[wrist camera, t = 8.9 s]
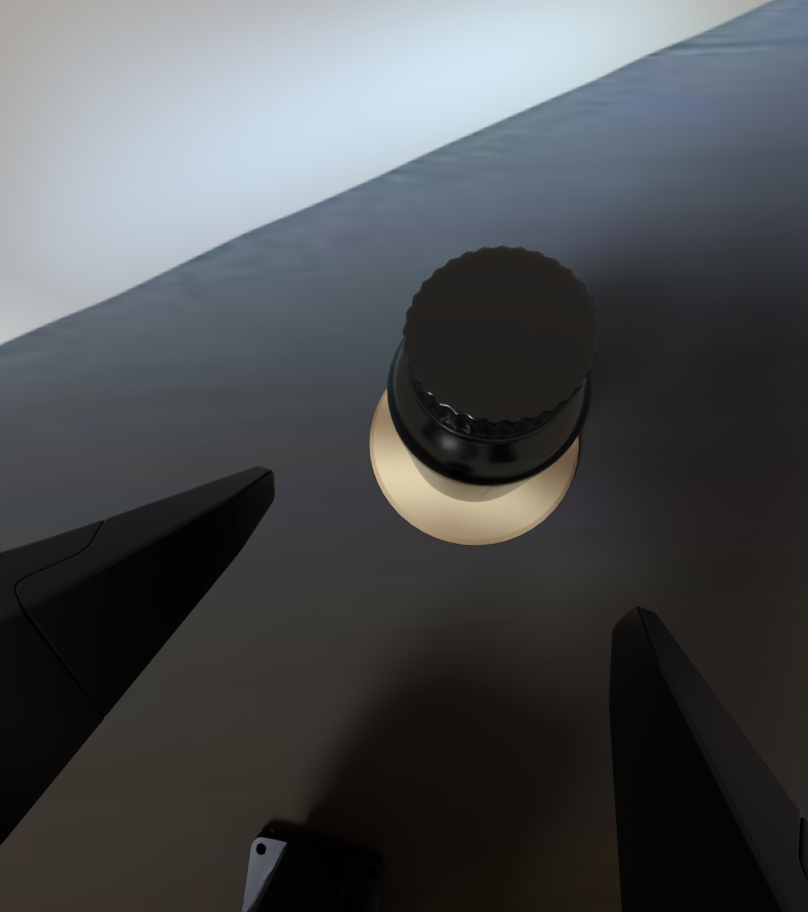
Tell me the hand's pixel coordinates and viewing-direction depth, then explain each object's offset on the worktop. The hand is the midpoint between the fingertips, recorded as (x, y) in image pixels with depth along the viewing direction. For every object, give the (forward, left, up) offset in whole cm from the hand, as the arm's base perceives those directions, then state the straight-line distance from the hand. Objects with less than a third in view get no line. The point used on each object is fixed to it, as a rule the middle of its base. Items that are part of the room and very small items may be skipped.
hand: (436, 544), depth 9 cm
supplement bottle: (+5, -1, -11) cm, 13 cm away
